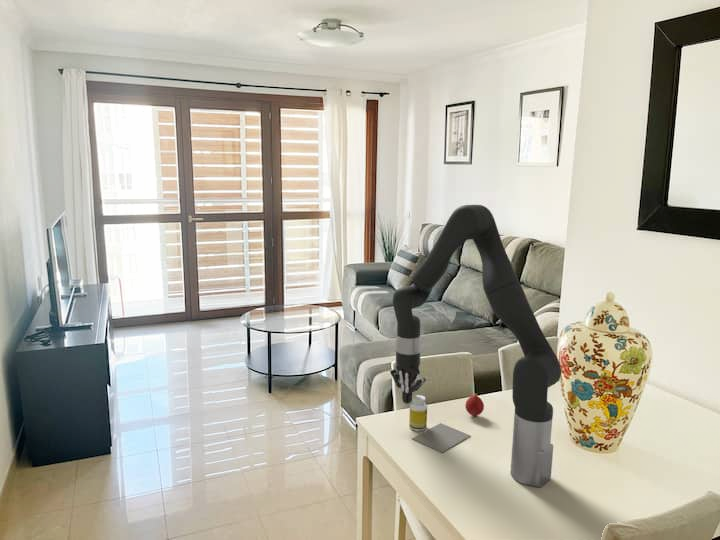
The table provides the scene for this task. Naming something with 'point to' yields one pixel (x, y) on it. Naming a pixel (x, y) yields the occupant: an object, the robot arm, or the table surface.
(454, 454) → the table surface
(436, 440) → the mat
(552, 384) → the robot arm
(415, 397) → the supplement bottle
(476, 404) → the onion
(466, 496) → the table surface
